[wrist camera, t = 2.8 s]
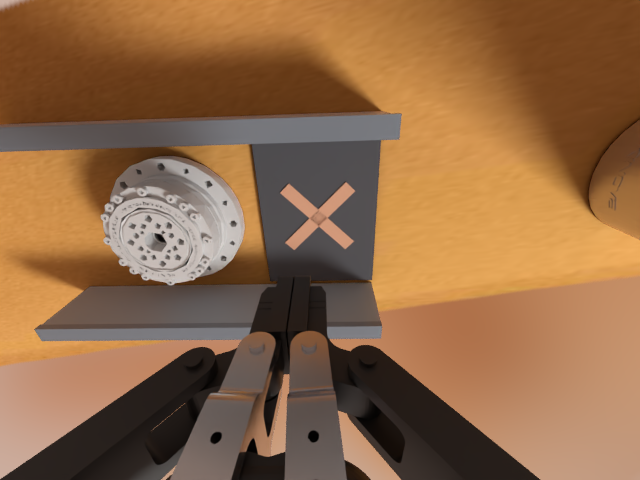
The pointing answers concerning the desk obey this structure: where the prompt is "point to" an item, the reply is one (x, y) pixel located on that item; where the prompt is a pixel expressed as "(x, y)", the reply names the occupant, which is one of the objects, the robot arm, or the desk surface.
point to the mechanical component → (172, 220)
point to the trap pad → (319, 207)
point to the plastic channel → (199, 300)
